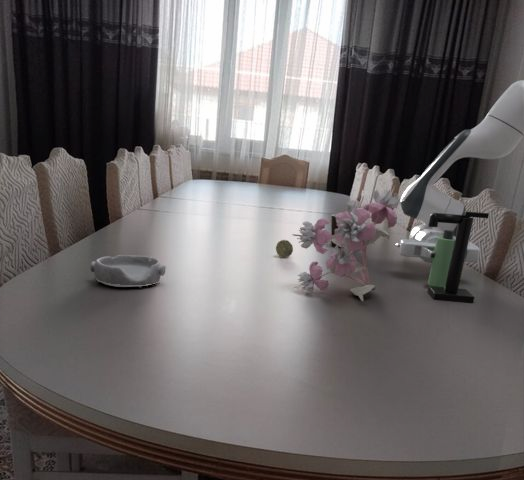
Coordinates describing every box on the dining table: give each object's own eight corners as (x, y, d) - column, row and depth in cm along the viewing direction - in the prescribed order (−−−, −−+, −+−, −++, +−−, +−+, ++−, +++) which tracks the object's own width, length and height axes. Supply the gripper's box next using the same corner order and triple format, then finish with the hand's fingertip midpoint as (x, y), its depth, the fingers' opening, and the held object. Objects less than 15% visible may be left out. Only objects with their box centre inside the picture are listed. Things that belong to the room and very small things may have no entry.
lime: (294, 257, 153) (295, 240, 151) (283, 259, 150) (284, 242, 148) (282, 254, 156) (284, 238, 154) (272, 256, 152) (273, 239, 151)
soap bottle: (441, 283, 136) (453, 229, 131) (452, 288, 131) (464, 232, 126) (424, 282, 135) (434, 228, 130) (434, 288, 130) (445, 231, 125)
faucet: (464, 294, 126) (483, 211, 119) (473, 303, 120) (493, 215, 112) (412, 290, 127) (428, 207, 119) (418, 298, 120) (435, 210, 113)
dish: (173, 284, 116) (173, 262, 114) (121, 294, 106) (121, 270, 104) (132, 271, 125) (132, 250, 123) (81, 279, 114) (79, 257, 113)
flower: (320, 268, 135) (304, 178, 118) (407, 274, 125) (402, 177, 108) (291, 317, 123) (268, 225, 106) (384, 329, 112) (375, 228, 96)
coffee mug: (326, 246, 173) (330, 216, 169) (329, 242, 181) (332, 213, 177) (361, 250, 171) (365, 220, 167) (362, 246, 179) (367, 217, 175)
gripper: (396, 231, 142) (405, 240, 129) (472, 238, 141) (488, 247, 128) (392, 254, 144) (401, 265, 131) (467, 261, 143) (483, 272, 130)
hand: (445, 256), depth 130 cm, fingers closed on soap bottle, 5 cm apart
